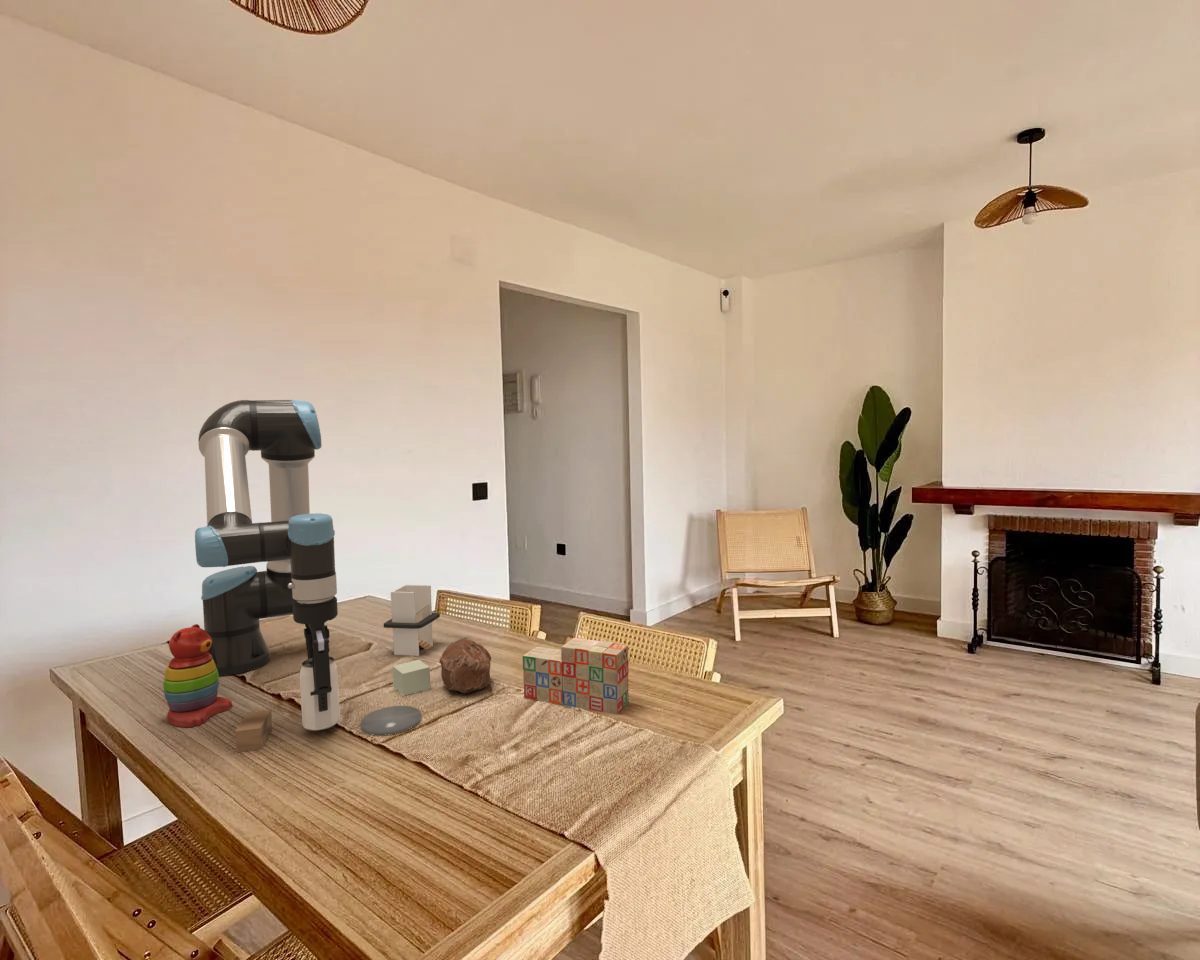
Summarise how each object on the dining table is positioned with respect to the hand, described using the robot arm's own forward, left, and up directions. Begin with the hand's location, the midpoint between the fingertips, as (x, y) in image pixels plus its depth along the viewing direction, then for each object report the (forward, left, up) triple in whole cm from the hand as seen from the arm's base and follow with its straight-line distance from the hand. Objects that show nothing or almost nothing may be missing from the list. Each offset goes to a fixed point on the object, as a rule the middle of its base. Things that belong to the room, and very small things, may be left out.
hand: (321, 718), depth 120 cm
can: (0, 0, -1) cm, 1 cm away
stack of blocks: (+14, +47, -3) cm, 49 cm away
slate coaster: (+3, +12, -2) cm, 13 cm away
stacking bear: (-22, -21, -3) cm, 30 cm away
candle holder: (-36, +26, -3) cm, 44 cm away
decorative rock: (-6, +30, -3) cm, 31 cm away
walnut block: (-3, -11, -3) cm, 12 cm away
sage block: (-11, +20, -3) cm, 23 cm away
